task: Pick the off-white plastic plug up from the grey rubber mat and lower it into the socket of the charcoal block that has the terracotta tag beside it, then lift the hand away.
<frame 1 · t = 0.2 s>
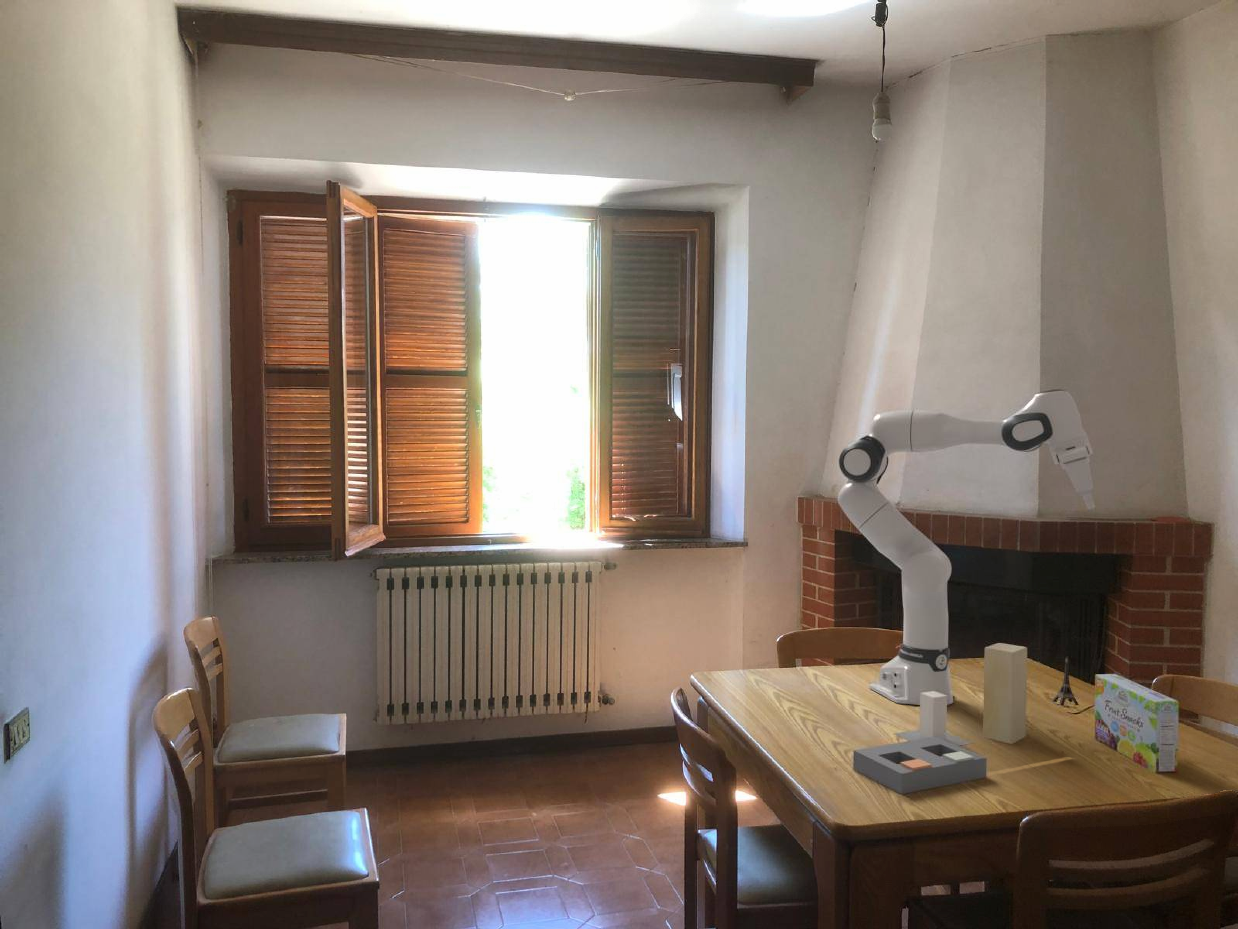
hand: (1090, 507, 220), 52 cm above the table, tool tilted 20°, fingers open, 8 cm apart
snack box: (1133, 756, 197), on the table
tall beige block: (1002, 739, 207), on the table
plug: (932, 738, 205), point 1 cm above the table, touching rubber mat
rubber mat: (932, 741, 205), on the table
socket block: (919, 773, 185), on the table
eiffel tower figurine: (1067, 707, 234), on the table
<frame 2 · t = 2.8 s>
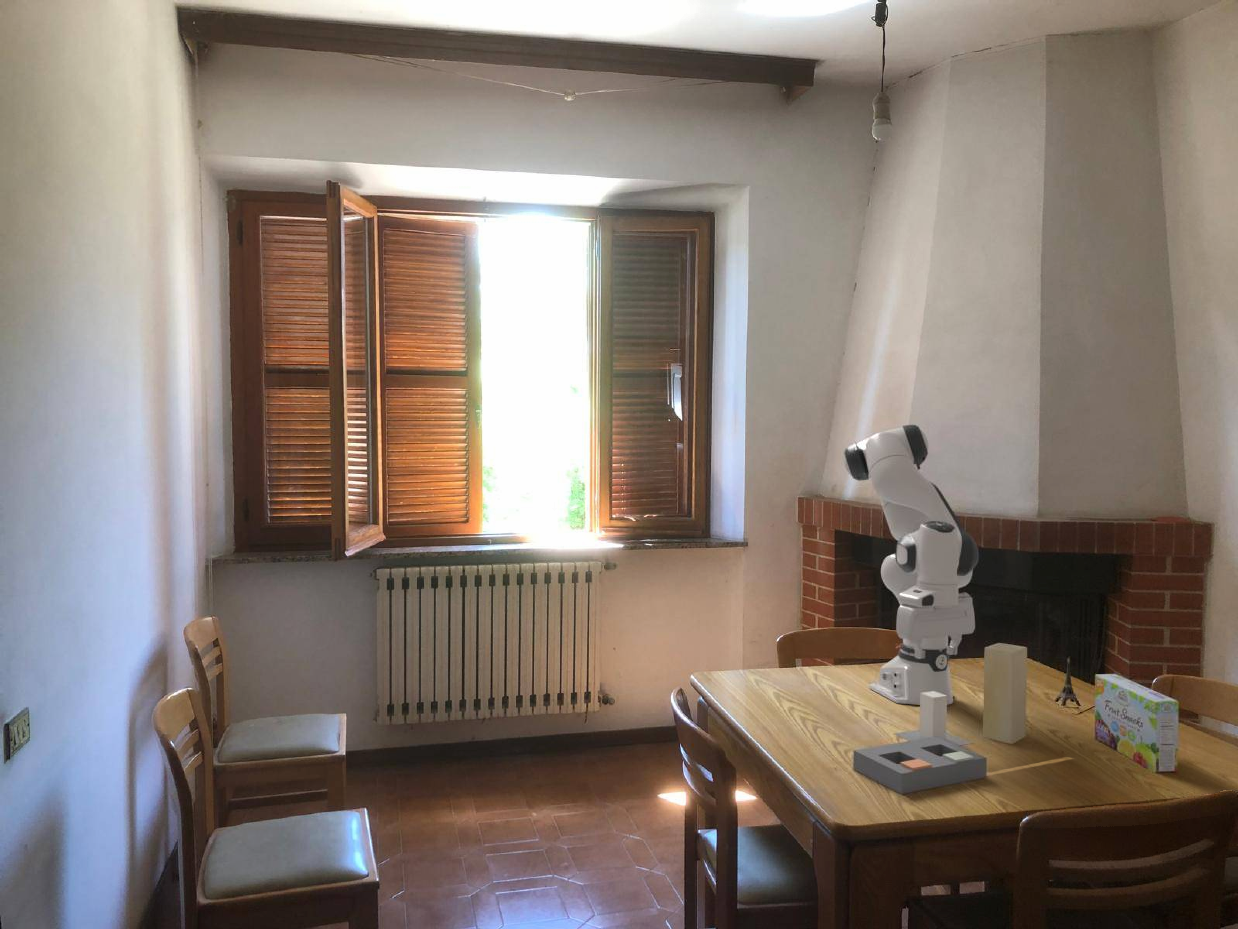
hand: (935, 656, 204), 19 cm above the table, tool pointing down, fingers open, 8 cm apart
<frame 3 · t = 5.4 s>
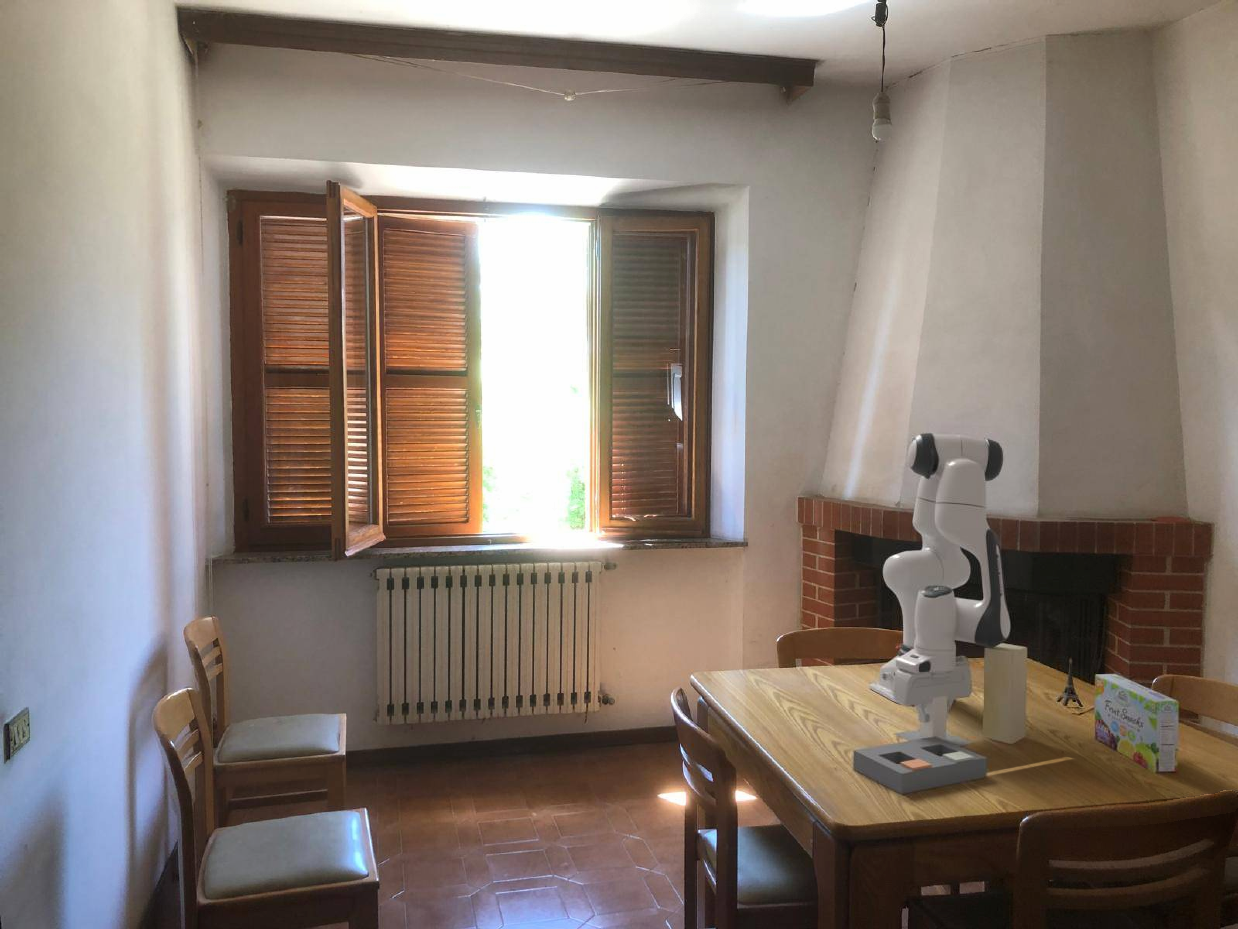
hand: (933, 720, 205), 5 cm above the table, tool pointing down, fingers closed on plug, 4 cm apart
plug: (932, 738, 205), point 1 cm above the table, touching gripper, rubber mat
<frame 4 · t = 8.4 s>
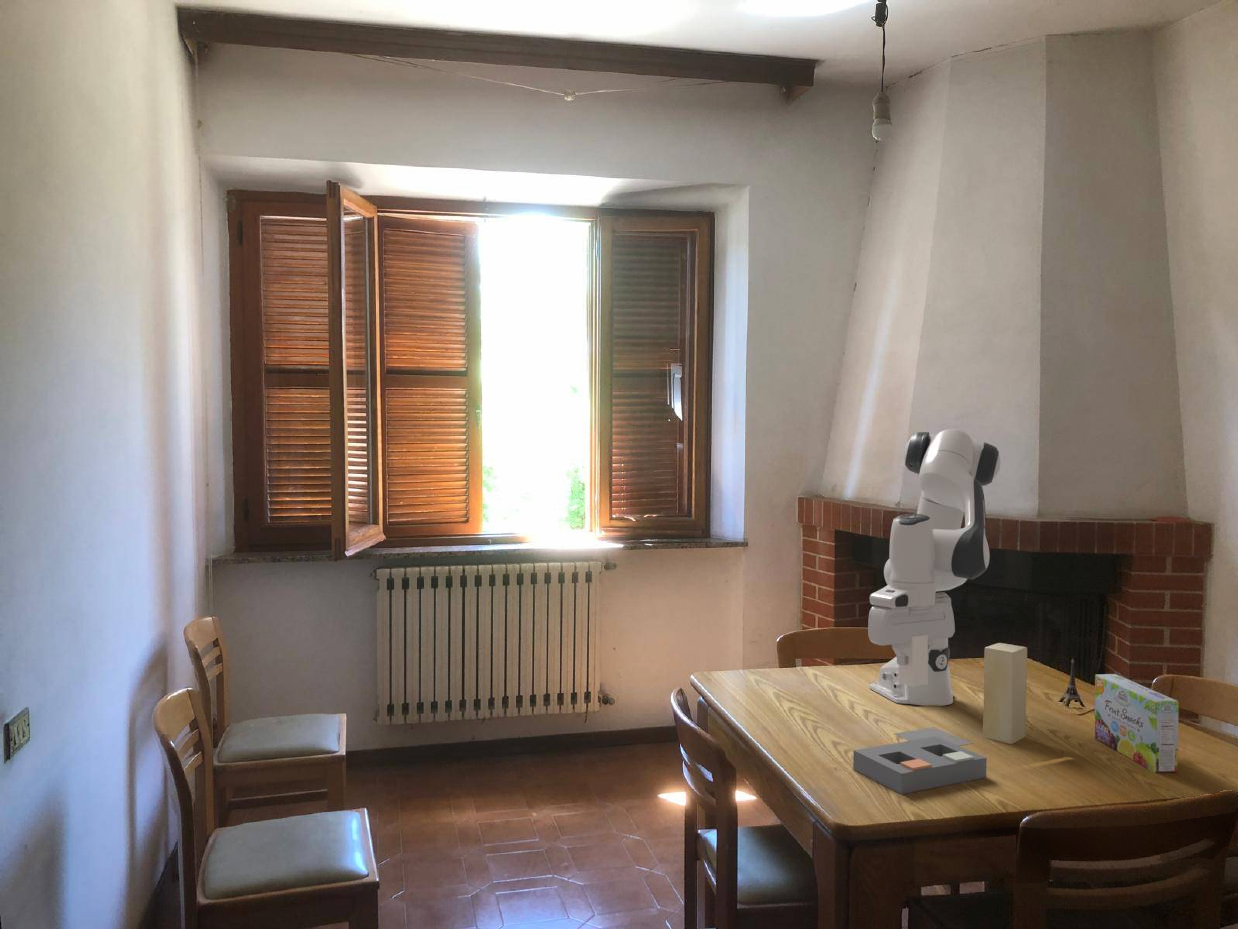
hand: (912, 663, 185), 22 cm above the table, tool pointing down, fingers closed on plug, 4 cm apart
plug: (913, 683, 185), point 18 cm above the table, touching gripper
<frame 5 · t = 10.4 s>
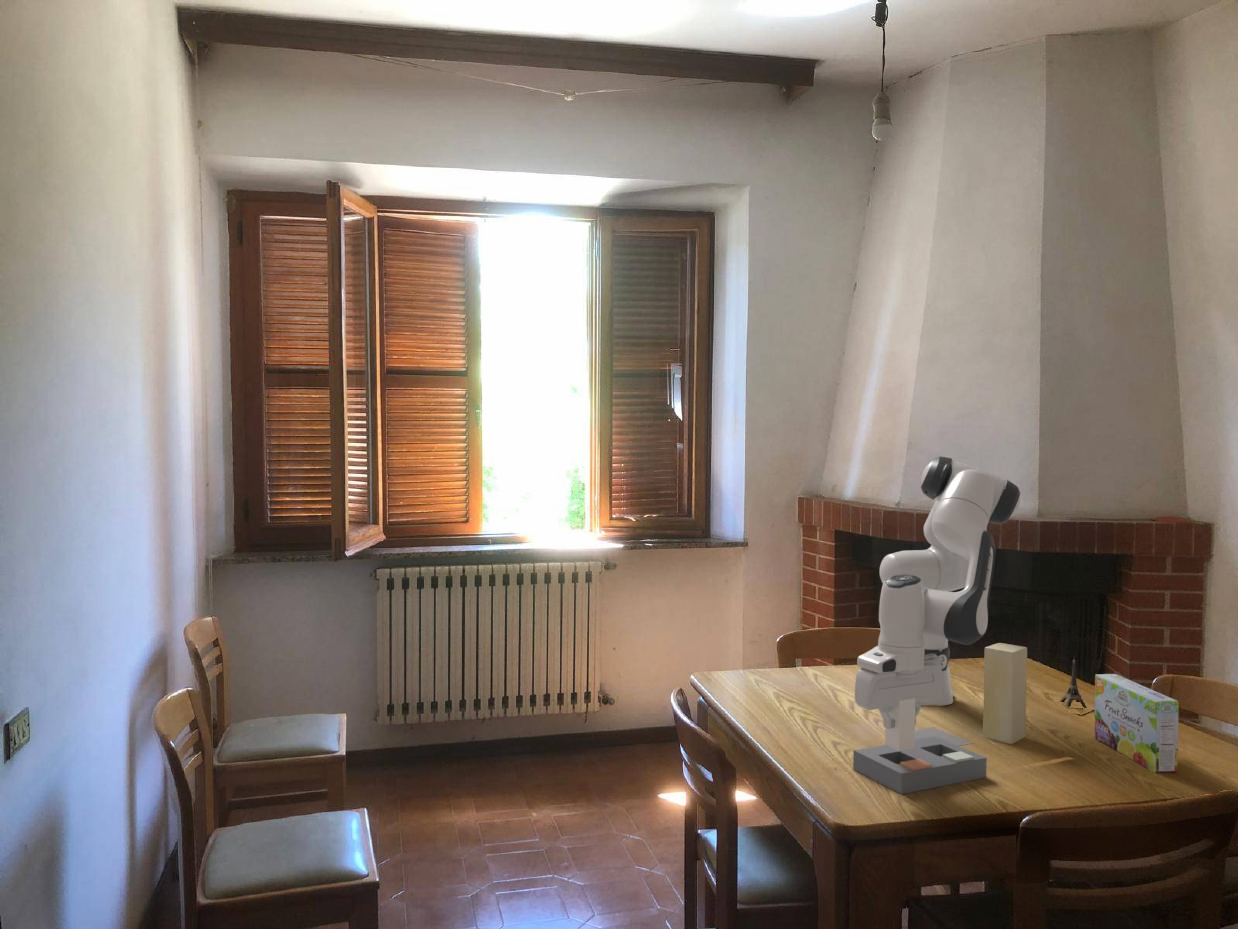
hand: (899, 726, 182), 10 cm above the table, tool pointing down, fingers closed on plug, 4 cm apart
plug: (899, 746, 182), point 6 cm above the table, touching gripper
when the fingers open (6 cm above the table, at t = 11.7 s): plug drops 2 cm, resting in socket block.
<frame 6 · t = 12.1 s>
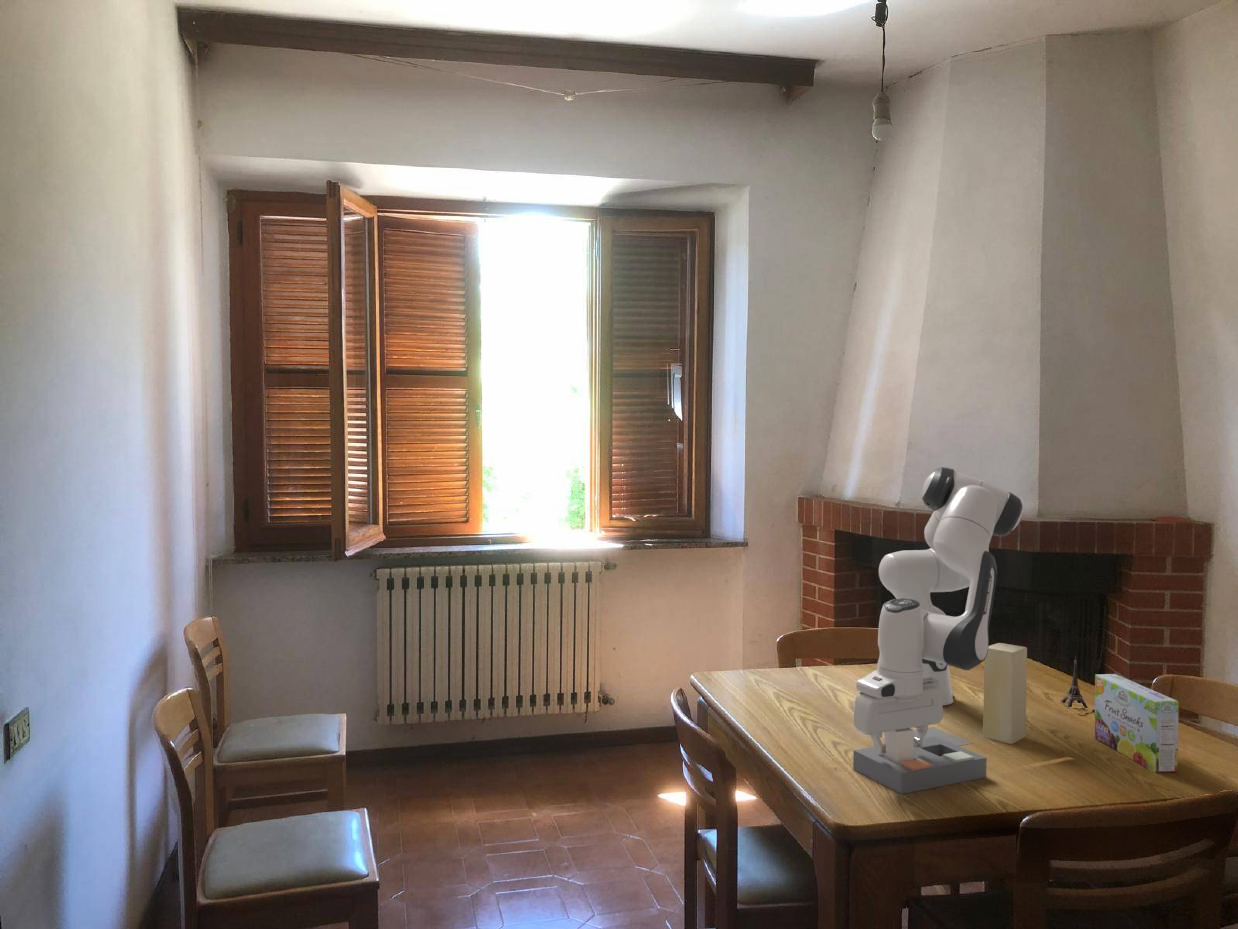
hand: (898, 749, 183), 6 cm above the table, tool pointing down, fingers open, 8 cm apart
plug: (898, 777, 183), resting in socket block
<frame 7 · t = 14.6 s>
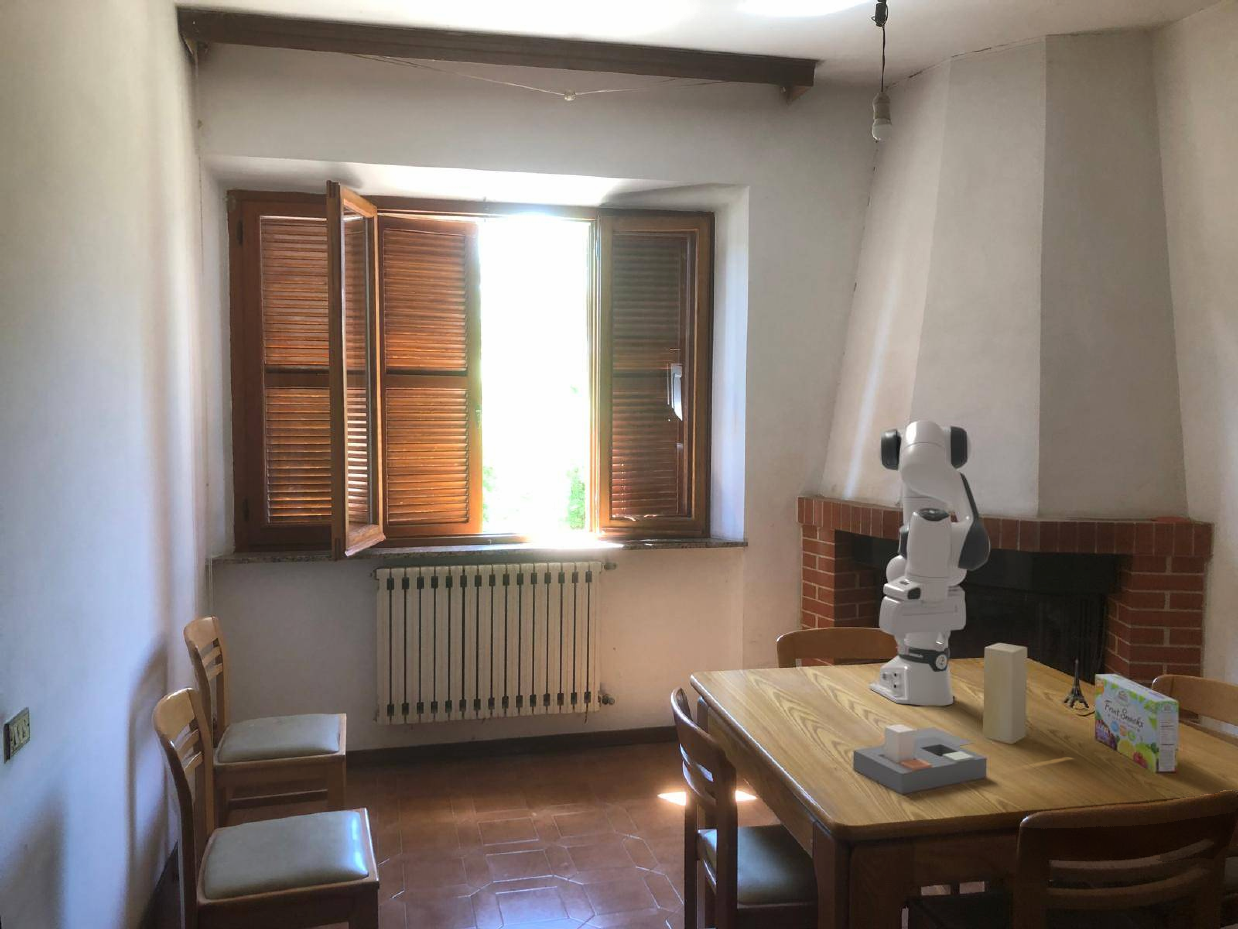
hand: (921, 652, 191), 23 cm above the table, tool pointing down, fingers open, 8 cm apart
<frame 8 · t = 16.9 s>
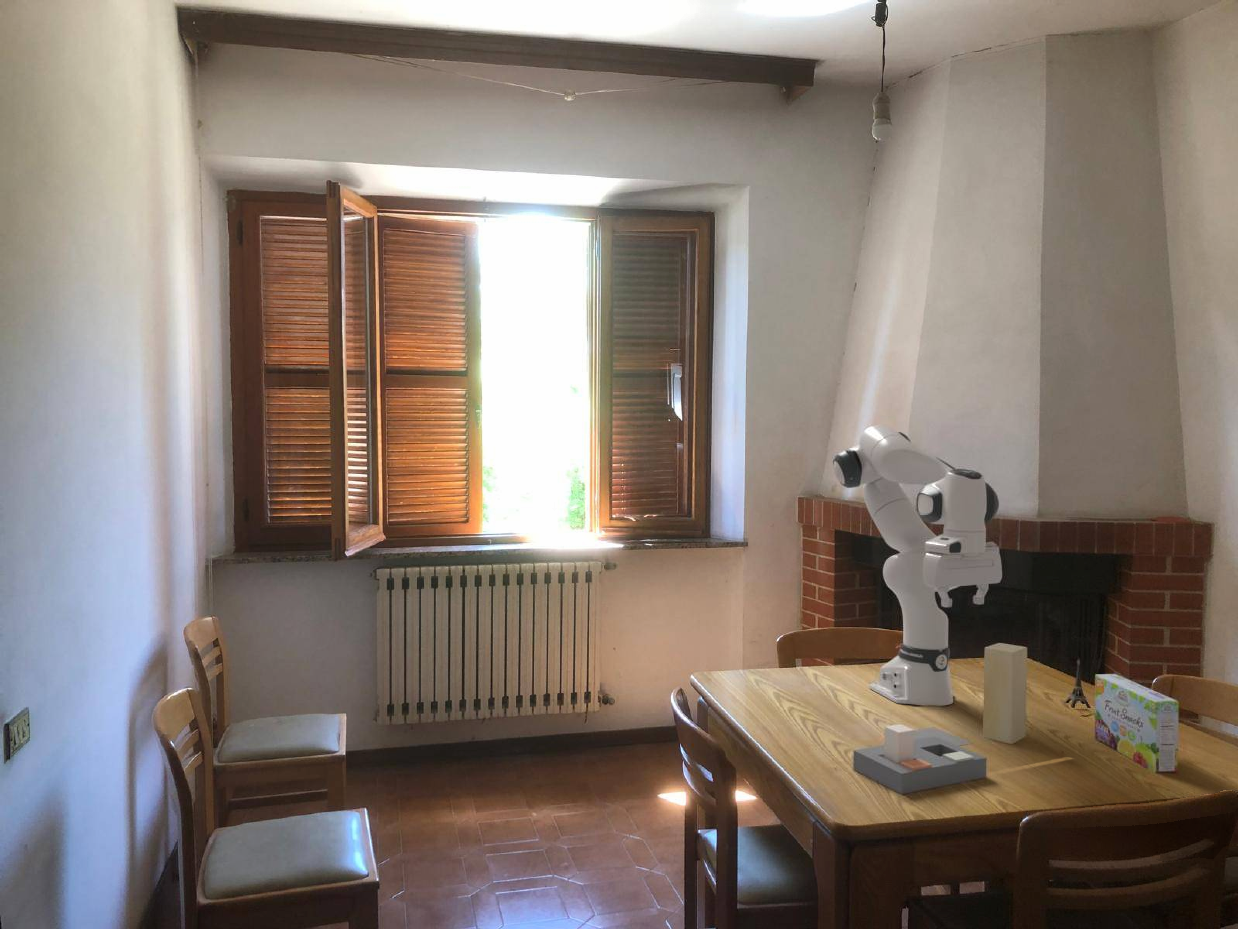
hand: (962, 605, 202), 31 cm above the table, tool pointing down, fingers open, 8 cm apart
at the end: plug 0.1 cm from the target spot on the socket block, point 0.0 cm above the socket block's base; plug tilted 0°; the gripper is holding nothing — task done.
